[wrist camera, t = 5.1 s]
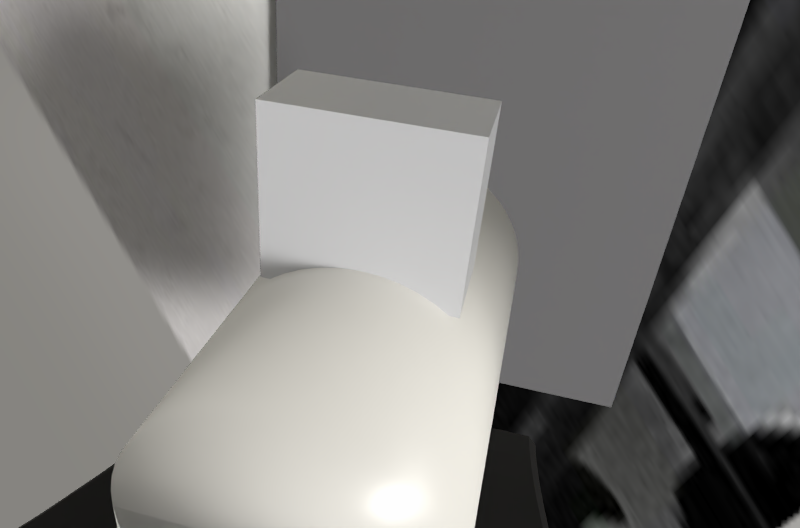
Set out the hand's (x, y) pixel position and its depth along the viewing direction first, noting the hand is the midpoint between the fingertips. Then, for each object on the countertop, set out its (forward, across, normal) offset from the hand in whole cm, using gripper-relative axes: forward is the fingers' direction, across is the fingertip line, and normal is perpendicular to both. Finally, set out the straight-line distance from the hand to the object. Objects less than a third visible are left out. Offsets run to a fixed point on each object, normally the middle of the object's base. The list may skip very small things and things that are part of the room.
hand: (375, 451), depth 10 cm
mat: (+9, 0, 0) cm, 9 cm away
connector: (+1, 0, 0) cm, 1 cm away
